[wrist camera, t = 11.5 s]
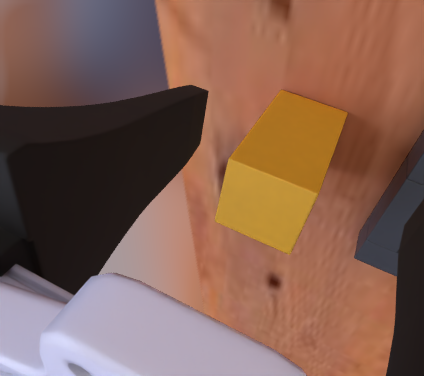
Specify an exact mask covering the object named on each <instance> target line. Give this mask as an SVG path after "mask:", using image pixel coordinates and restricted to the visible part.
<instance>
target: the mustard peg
mask: <svg viewBox="0 0 424 376" xmlns="http://www.w3.org/2000/svg"><path fill="white" fill-rule="evenodd" d="M347 115H348V112H345V111H342V110H339V109H336V108H333V107H331V106H328V105H325V104H322V103H319V102H316V101H313V100H310V99H307V98H304V97H302V96H299V95H296V94H293V93H290V92H287V91H284V90H280V92H279V93H278V94H277V96H276V97H275V98H274V100H273V101H272V102H271V104H270V105H269V106H268V108H267V109H266V110H265V112H264V113H263V114H262V116H261V117H260V118H259V119H258V121H257V122H256V123H255V125H254V126H253V127H252V129H251V130H250V131H249V133H248V134H247V135H246V137H245V138H244V139H243V141H242V142H241V143H240V145H239V146H238V147H237V149H236V150H235V151H234V153H233V154H232V155H231V156H230V158H229V160H228V164H227V169H226V173H225V177H224V182H223V186H222V190H221V195H220V199H219V203H218V208H217V212H216V217H215V222H217V223H219V224H222V225H224V226H226V227H228V228H230V229H233V230H235V231H237V232H239V233H242V234H244V235H246V236H248V237H251V238H253V239H255V240H257V241H260V242H262V243H264V244H266V245H269V246H271V247H273V248H275V249H278V250H280V251H282V252H284V253H287V254H289V255H290V254H291V252H292V250H293V248H294V246H295V244H296V242H297V239H298V237H299V235H300V233H301V231H302V229H303V227H304V224H305V222H306V220H307V218H308V216H309V214H310V212H311V210H312V207H313V205H314V203H315V201H316V199H317V197H318V195H319V192H320V189H321V186H322V184H323V181H324V178H325V175H326V173H327V170H328V167H329V164H330V162H331V159H332V156H333V153H334V151H335V148H336V145H337V142H338V140H339V137H340V134H341V131H342V129H343V126H344V123H345V120H346V118H347Z"/></svg>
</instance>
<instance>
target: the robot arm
mask: <svg viewBox="0 0 424 376" xmlns="http://www.w3.org/2000/svg"><path fill="white" fill-rule="evenodd" d="M207 98H208V91H207V90H204V89H202V88H199V87H196V86H193V85H187V86H182V87H177V88H173V89H169V90H165V91H161V92H157V93H153V94H149V95H145V96H141V97H136V98H130V99H126V100H121V101H116V102H110V103H103V104H95V105H86V106H70V107H18V106H17V107H16V106H3V105H0V376H307V375H306V374H305V372H304V371H303V370H302V368H300V367H299V366H297V365H296V364H294V363H293V362H292V361H290V360H289V359H287V358H286V357H284V356H283V355H281V354H280V353H279V352H277V351H276V350H274V349H272V348H270V347H268V346H266V345H265V344H263V343H261V342H259V341H257V340H255V339H253V338H251V337H249V336H247V335H245V334H243V333H241V332H239V331H237V330H235V329H233V328H231V327H229V326H227V325H225V324H223V323H221V322H220V321H218V320H216V319H214V318H212V317H210V316H208V315H206V314H204V313H202V312H200V311H198V310H196V309H194V308H192V307H190V306H188V305H186V304H184V303H182V302H180V301H178V300H176V299H175V298H173V297H170V296H169V295H167V294H164V293H163V292H161V291H159V290H157V289H155V288H153V287H151V286H149V285H147V284H145V283H143V282H141V281H139V280H136V279H133V278H129V277H126V276H123V275H120V274H117V273H107V274H102V275H98V274H99V272H100V271H101V269H102V268H103V266H104V265H105V263H106V261H107V260H108V259H109V257H110V256H111V254H112V253H113V251H114V250H115V248H116V247H117V246H118V244H119V243H120V241H121V240H122V238H123V237H124V236H125V234H126V233H127V231H128V230H129V229H130V227H131V226H132V225H133V223H134V222H135V221H136V219H137V218H138V217H139V215H140V214H141V213H142V211H143V210H144V209H145V208H146V207H147V206H148V205H149V203H150V202H151V201H152V200H153V199H154V198H155V197H156V196H157V195H158V194H159V193H160V192H161V191H162V190H163V189H164V188H165V187H166V185H167V184H168V183H169V182H170V181H171V180H172V179H173V178H174V177H175V176H176V174H178V172H179V171H180V170H181V169H182V168H183V167H184V166H185V165H186V164H187V162H188V161H189V159H190V158H191V157H192V155H193V154H194V152H195V151H196V149H197V148H198V146H199V144H200V142H201V135H202V129H203V123H204V116H205V110H206V104H207ZM386 376H424V199H423V200H422V202H421V203H420V205H419V206H418V207H417V209H416V210H415V211H414V213H413V214H412V215H411V217H410V218H409V220H408V221H407V222H406V224H405V225H404V229H403V234H402V238H401V242H400V247H399V253H398V268H397V290H396V313H395V326H394V335H393V340H392V346H391V352H390V358H389V363H388V368H387V373H386Z"/></svg>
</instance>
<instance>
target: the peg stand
mask: <svg viewBox="0 0 424 376" xmlns="http://www.w3.org/2000/svg"><path fill="white" fill-rule="evenodd" d="M423 199H424V130H423V132H422V134H421V135H420V137H419V138H418V140H417V142H416V143H415V145H414V146H413V148H412V150H411V151H410V153H409V155H408V156H407V157H406V159H405V161H404V162H403V164H402V165H401V167H400V169H399V170H398V172H397V173H396V175H395V176H394V178H393V180H392V181H391V183H390V184H389V186H388V188H387V189H386V191H385V192H384V194H383V196H382V197H381V199H380V200H379V202H378V204H377V205H376V207H375V208H374V210H373V212H372V213H371V215H370V216H369V218H368V220H367V221H366V223H365V224H364V226H363V227H362V229H361V231H360V232H359V236H358V241H357V246H356V251H355V256H354V258H355V259H357V260H360V261H362V262H364V263H367V264H369V265H371V266H373V267H376V268H378V269H380V270H383V271H385V272H387V273H390V274H392V275H394V276H397V268H398V253H399V247H400V242H401V238H402V234H403V229H404V225H405V224H406V222H407V221H408V220H409V218H410V217H411V215H412V214H413V213H414V211H415V210H416V209H417V207H418V206H419V205H420V203H421V202H422V200H423Z"/></svg>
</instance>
